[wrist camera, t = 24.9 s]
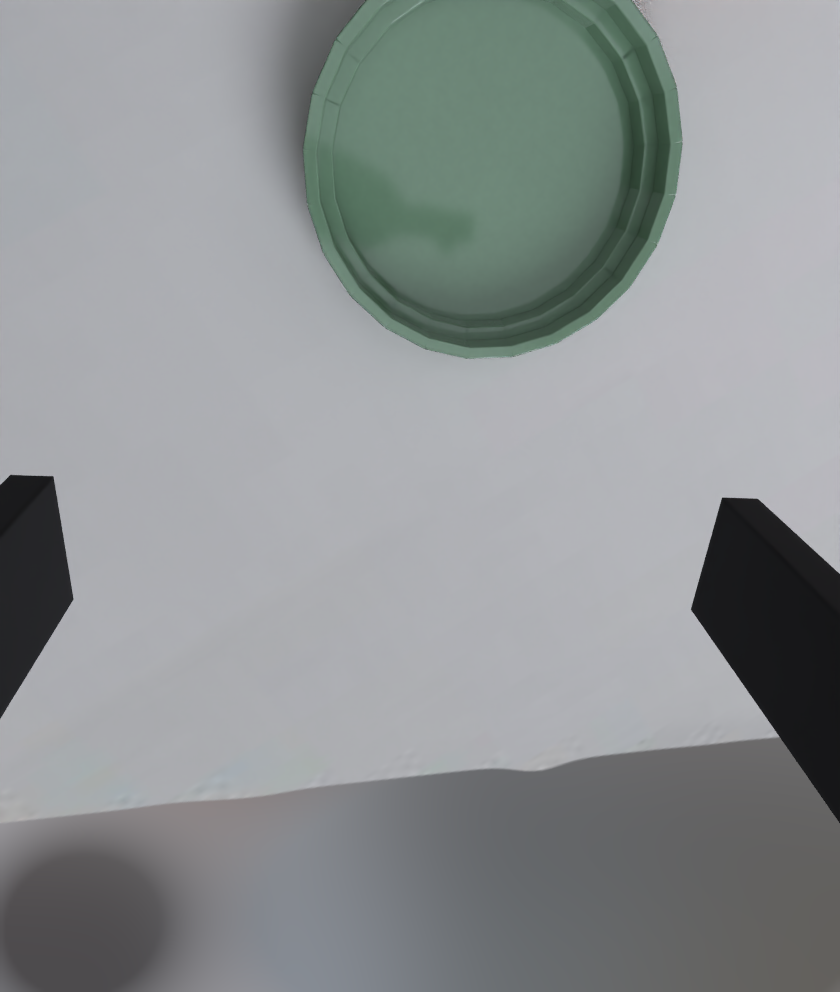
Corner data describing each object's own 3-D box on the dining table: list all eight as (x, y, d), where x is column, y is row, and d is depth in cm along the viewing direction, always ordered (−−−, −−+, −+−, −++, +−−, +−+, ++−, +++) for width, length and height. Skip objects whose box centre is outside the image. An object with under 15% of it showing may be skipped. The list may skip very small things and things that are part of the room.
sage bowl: (281, 300, 38) (275, 315, 35) (347, -97, 31) (346, -122, 28) (586, 371, 41) (604, 390, 38) (710, 22, 34) (744, 12, 31)
